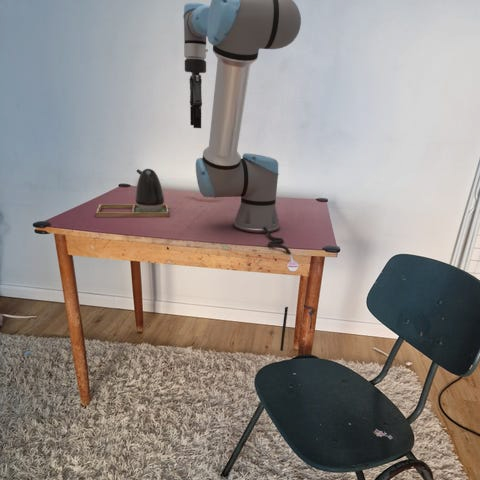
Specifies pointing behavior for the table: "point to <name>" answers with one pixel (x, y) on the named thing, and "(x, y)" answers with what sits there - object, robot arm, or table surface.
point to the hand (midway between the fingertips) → (195, 126)
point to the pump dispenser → (149, 192)
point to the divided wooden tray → (130, 214)
